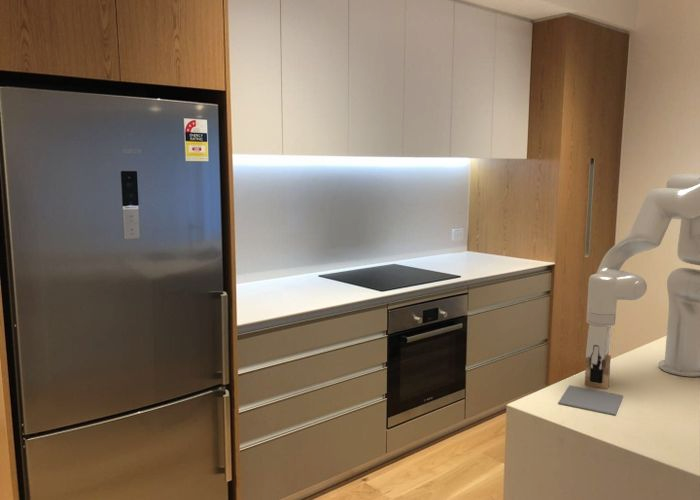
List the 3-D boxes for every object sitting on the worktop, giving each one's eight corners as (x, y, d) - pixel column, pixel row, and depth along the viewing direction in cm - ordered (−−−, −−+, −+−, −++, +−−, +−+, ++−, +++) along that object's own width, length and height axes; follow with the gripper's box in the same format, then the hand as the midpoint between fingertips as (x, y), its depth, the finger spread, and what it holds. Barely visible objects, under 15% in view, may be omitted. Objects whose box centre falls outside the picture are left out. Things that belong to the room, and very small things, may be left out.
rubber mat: (569, 386, 167) (569, 385, 167) (623, 396, 160) (623, 395, 160) (558, 403, 155) (558, 402, 155) (615, 415, 148) (615, 414, 148)
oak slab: (586, 381, 171) (588, 351, 169) (608, 385, 167) (610, 355, 166) (584, 384, 168) (586, 354, 167) (607, 389, 165) (609, 358, 163)
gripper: (592, 309, 173) (588, 369, 176) (581, 322, 160) (577, 386, 163) (619, 313, 170) (615, 373, 172) (610, 326, 156) (606, 392, 159)
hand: (597, 379), depth 167 cm, fingers closed on oak slab, 3 cm apart
